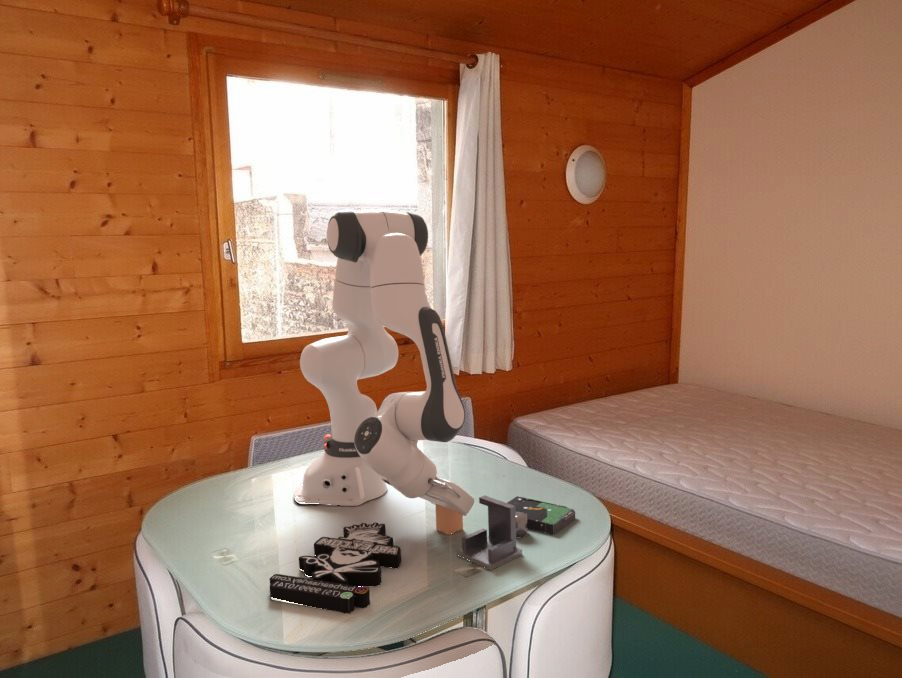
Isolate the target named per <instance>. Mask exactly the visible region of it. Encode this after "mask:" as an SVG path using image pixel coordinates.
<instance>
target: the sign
mask: <svg viewBox="0 0 902 678" xmlns="http://www.w3.org/2000/svg"><path fill="white" fill-rule="evenodd" d="M342 532H343V536H339V537H337V538H336V537H330V536H329V537H328V536H321V537H320V538H319V539H317V540H316V541H315V542H314V543H313V553H314V555H316V556H312V555H302V556H299V557H298V565H299V566H298V567H299V568H300V569H302V570H304V572H303V574H304V573H305V574H306V575H308V576H312V578H307V577H301V576H294V575H293V576H292V575H286V574H281V573H275V574H273V575H272V576H270V577H269V593H270V594H269V595H270V597H273V598H277V599H281V600H286V601H289V602H294V603H298V604H303V605H307V606H312V607H316V608H315V609H318V608H322V609H321V610H324V609H326V610H325V611H330V610H331V611H332V612H336V613H337V612H338V613H342V614H349V615H351V613H353V612H354V611H355V608H358V607H359V608H358V609H366V608H368V607H369V606H368V605H371V597H370V595H371V594H370V587H362V586H373V587H379V586H380V585H381V584H382V567H381V566H384V567H383V568H389V567H392V568H391V569H395V568H397V569H399V568H400V567H399V566H401V564H400V563H402V552H401V548H402V547H401V546H398V545H394V538H393V536H391V535H387V534H386V533H387V532H386V524H385V523H380V524H379V522H378V521H377V522H373V523H370V524H368V523H366V522H362V523H360V524H352V525H351V526H344V527H343V528H342ZM398 567H399V568H398ZM380 583H381V584H380ZM378 585H379V586H378ZM358 586H361V587H358ZM355 606H356V607H355ZM367 606H368V607H367ZM312 607H311V608H312Z"/></svg>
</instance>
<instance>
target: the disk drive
mask: <svg viewBox="0 0 902 678" xmlns="http://www.w3.org/2000/svg"><path fill="white" fill-rule="evenodd" d="M506 503H508V504H511V505H514V506H516V512H523V513H525V514H527V529H529V528H530V529H529V530H533V529H534V530H533V531H536V530H538V531H537V532H540V531H541V532H540V533H544V532H545V534H548V533H549V535H554V536H555V535H556V534H557V533H558V532H560V531H561V530H563V528H566V526H567V525H569V524H570V523H572V521H574V520H575V519H576V511H575V509H574V508H572V507H571V508H570V507H567V506H565V505H560V504H555V503H550V502H546V501H541V500H537V499H531V498H527V497H524V496H517V495H516V496H515V497H514V498H512V499H510V500H509V501H508V502H506Z"/></svg>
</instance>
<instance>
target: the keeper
mask: <svg viewBox="0 0 902 678" xmlns="http://www.w3.org/2000/svg"><path fill="white" fill-rule="evenodd" d="M478 500H479V501H478V503H479V504H480V505H483V506H487V516H488V517H487V519H488V520H487V521H488V523H487V524H488V525H487V527H488V529H486V528H481V529H478V530H476V531H474V532H472V533H470V534H467V535H466V536H463V537H461V548H460V549H457V551H456V556H457V555H459V556H461V557H464V558H465V559H464V560H466V559H468V560H470V561H472V562H474V563H473V564H475V563H476V564H475V565H477V564H478V565H477V566H479V565H480V566H479V567H481V566H483V567H482V568H484V567H485V568H484V569H486V568H487V570H488V569H489V570H488V571H490V570H491V571H492V569H493V570H494V568H495V569H497V568H498V566H499V567H500V565H501V566H502V564H503V565H504V563H505V564H506V562H507V563H508V562H510V561H512V560H514V559H517V558H518V557H521V556H522V555H523V549H522V548H519V547H517V538H516V506H514V505H511V504H508V503H507V502H505V501H501V500H499V499H497V498H496V499H495V498H492V497H490V496H487V495H481V496H480V497H478ZM459 556H458V557H459ZM461 557H460V558H461ZM468 560H467V561H468ZM470 561H469V562H470ZM472 562H471V563H472ZM496 567H497V568H496Z"/></svg>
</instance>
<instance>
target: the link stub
mask: <svg viewBox="0 0 902 678" xmlns="http://www.w3.org/2000/svg"><path fill="white" fill-rule="evenodd" d="M526 535H527V536H528V528H527V514H525V513H523V512H516V537H522V538H525V537H527V536H526ZM524 536H525V537H524Z"/></svg>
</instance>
